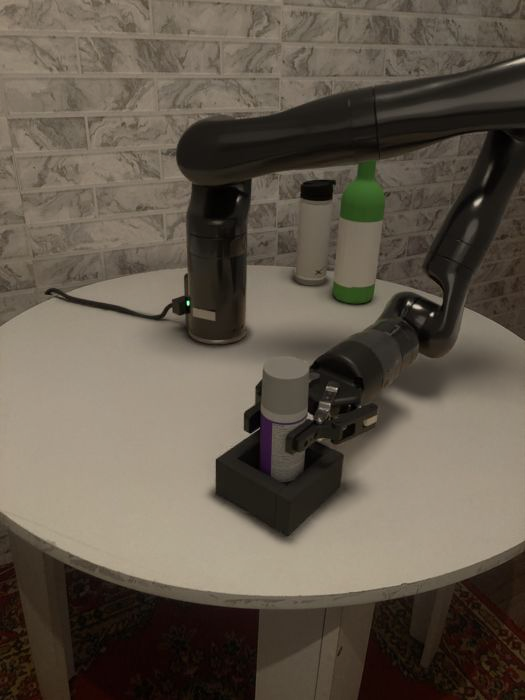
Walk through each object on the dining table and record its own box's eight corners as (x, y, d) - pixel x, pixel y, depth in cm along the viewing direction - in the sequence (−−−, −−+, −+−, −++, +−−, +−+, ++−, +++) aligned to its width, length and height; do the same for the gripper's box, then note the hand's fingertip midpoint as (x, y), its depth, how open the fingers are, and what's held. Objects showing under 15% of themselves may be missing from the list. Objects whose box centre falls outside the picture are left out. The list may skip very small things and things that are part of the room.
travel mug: (325, 287, 117) (334, 184, 107) (292, 284, 118) (298, 181, 109) (329, 276, 122) (337, 177, 113) (297, 273, 123) (303, 175, 114)
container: (257, 474, 66) (259, 355, 59) (299, 472, 66) (306, 354, 59) (260, 504, 62) (263, 380, 55) (305, 502, 62) (314, 379, 55)
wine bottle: (376, 306, 109) (398, 134, 95) (333, 304, 109) (350, 132, 95) (369, 290, 116) (390, 127, 102) (330, 289, 116) (344, 126, 102)
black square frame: (215, 492, 63) (215, 459, 61) (271, 451, 70) (272, 419, 68) (287, 536, 58) (290, 501, 56) (340, 486, 65) (344, 453, 63)
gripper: (309, 323, 72) (212, 378, 60) (417, 361, 64) (331, 432, 52) (305, 376, 76) (213, 438, 64) (408, 418, 68) (325, 497, 56)
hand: (267, 435), depth 58 cm, fingers closed on container, 4 cm apart
